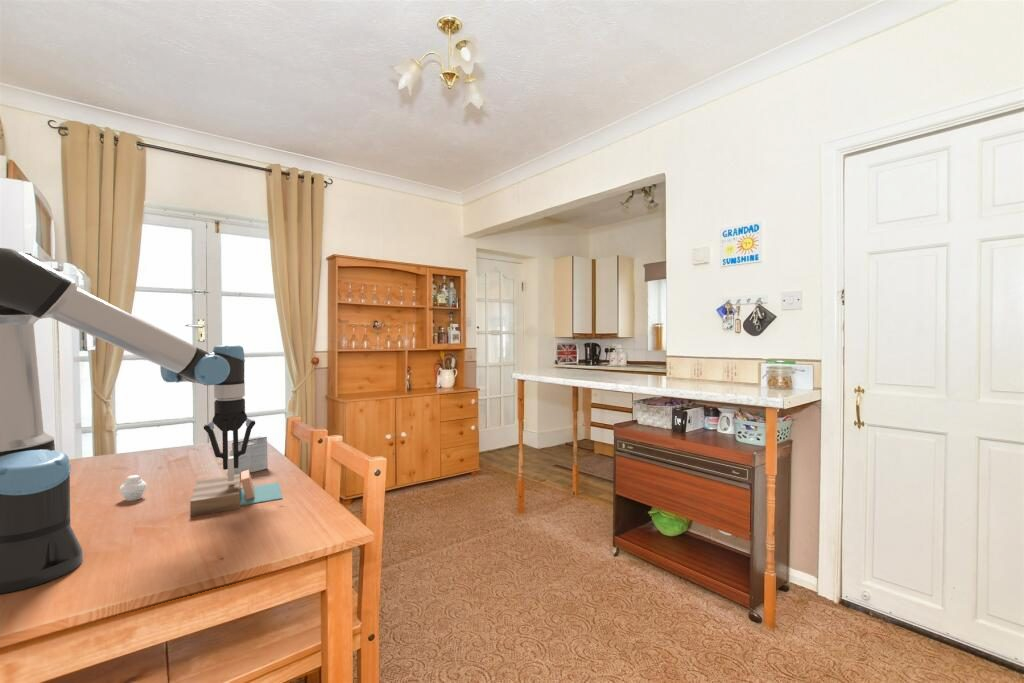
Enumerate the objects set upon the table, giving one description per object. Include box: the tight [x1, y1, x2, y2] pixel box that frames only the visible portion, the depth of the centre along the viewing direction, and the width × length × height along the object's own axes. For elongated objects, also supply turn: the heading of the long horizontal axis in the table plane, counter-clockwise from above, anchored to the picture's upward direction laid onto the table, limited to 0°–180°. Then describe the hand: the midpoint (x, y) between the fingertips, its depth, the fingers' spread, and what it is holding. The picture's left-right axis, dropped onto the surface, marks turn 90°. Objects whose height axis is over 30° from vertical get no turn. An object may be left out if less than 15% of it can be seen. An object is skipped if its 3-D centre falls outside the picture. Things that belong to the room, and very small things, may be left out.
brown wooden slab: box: [189, 474, 241, 518], centre depth 129 cm, size 20×11×4 cm, turn 31°
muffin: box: [118, 474, 148, 502], centre depth 130 cm, size 6×6×7 cm
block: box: [240, 470, 255, 500], centre depth 133 cm, size 9×6×2 cm
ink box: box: [229, 436, 269, 476], centre depth 155 cm, size 12×2×12 cm, turn 141°
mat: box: [240, 481, 283, 507], centre depth 134 cm, size 16×11×1 cm
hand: (231, 479), depth 131 cm, fingers closed
